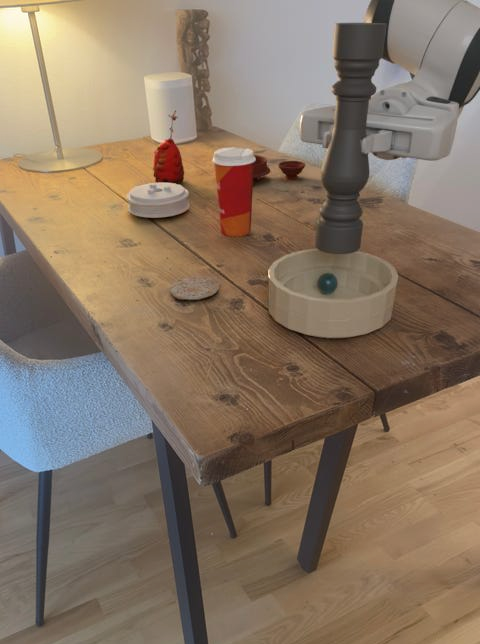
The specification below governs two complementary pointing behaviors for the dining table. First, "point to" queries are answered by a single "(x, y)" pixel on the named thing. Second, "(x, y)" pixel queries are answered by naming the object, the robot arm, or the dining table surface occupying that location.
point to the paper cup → (234, 189)
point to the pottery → (287, 167)
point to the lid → (158, 200)
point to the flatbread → (194, 288)
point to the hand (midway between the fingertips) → (343, 143)
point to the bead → (327, 283)
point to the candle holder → (348, 136)
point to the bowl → (337, 307)
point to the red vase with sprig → (168, 161)
